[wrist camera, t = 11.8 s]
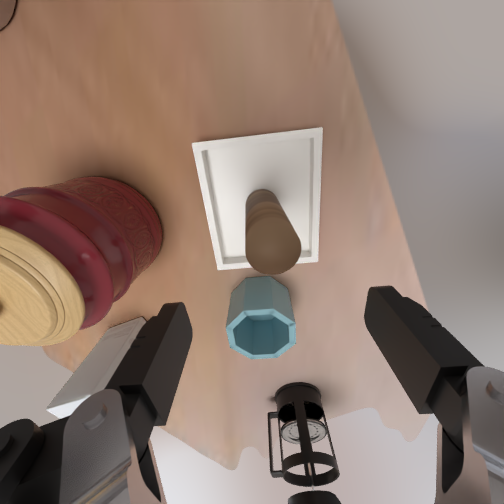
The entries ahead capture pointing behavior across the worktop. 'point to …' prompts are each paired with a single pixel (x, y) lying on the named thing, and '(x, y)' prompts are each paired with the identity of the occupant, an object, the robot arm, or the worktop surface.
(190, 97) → the worktop surface
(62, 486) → the robot arm
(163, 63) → the worktop surface
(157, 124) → the worktop surface
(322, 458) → the french press
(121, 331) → the supplement box
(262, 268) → the walnut peg
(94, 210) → the canister
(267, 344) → the teal pot
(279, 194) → the white tray
